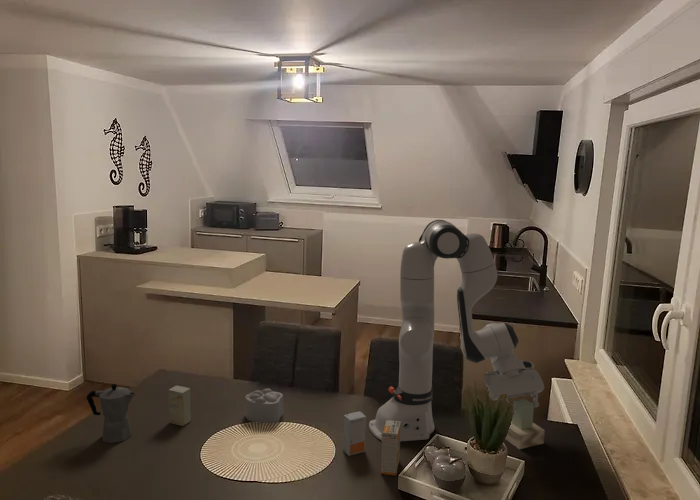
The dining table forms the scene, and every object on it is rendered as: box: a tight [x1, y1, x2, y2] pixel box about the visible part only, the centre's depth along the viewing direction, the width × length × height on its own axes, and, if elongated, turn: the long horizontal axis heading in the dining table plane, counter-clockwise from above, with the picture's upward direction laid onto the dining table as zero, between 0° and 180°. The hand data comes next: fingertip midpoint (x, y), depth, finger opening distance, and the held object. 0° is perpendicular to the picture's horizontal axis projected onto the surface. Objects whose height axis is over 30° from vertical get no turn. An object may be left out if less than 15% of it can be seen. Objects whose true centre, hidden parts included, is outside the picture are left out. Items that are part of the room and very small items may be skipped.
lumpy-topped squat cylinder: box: [244, 388, 284, 425], centre depth 189 cm, size 10×13×9 cm
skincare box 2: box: [342, 410, 367, 457], centre depth 167 cm, size 6×4×12 cm
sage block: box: [511, 398, 535, 430], centre depth 176 cm, size 4×4×8 cm
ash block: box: [505, 421, 546, 450], centre depth 177 cm, size 10×10×5 cm
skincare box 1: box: [168, 384, 192, 427], centre depth 184 cm, size 6×4×12 cm
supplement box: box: [380, 420, 401, 476], centre depth 158 cm, size 8×5×13 cm, turn 168°
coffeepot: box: [86, 383, 136, 444], centre depth 173 cm, size 15×9×18 cm, turn 92°
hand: (524, 408), depth 175 cm, fingers open, 8 cm apart
